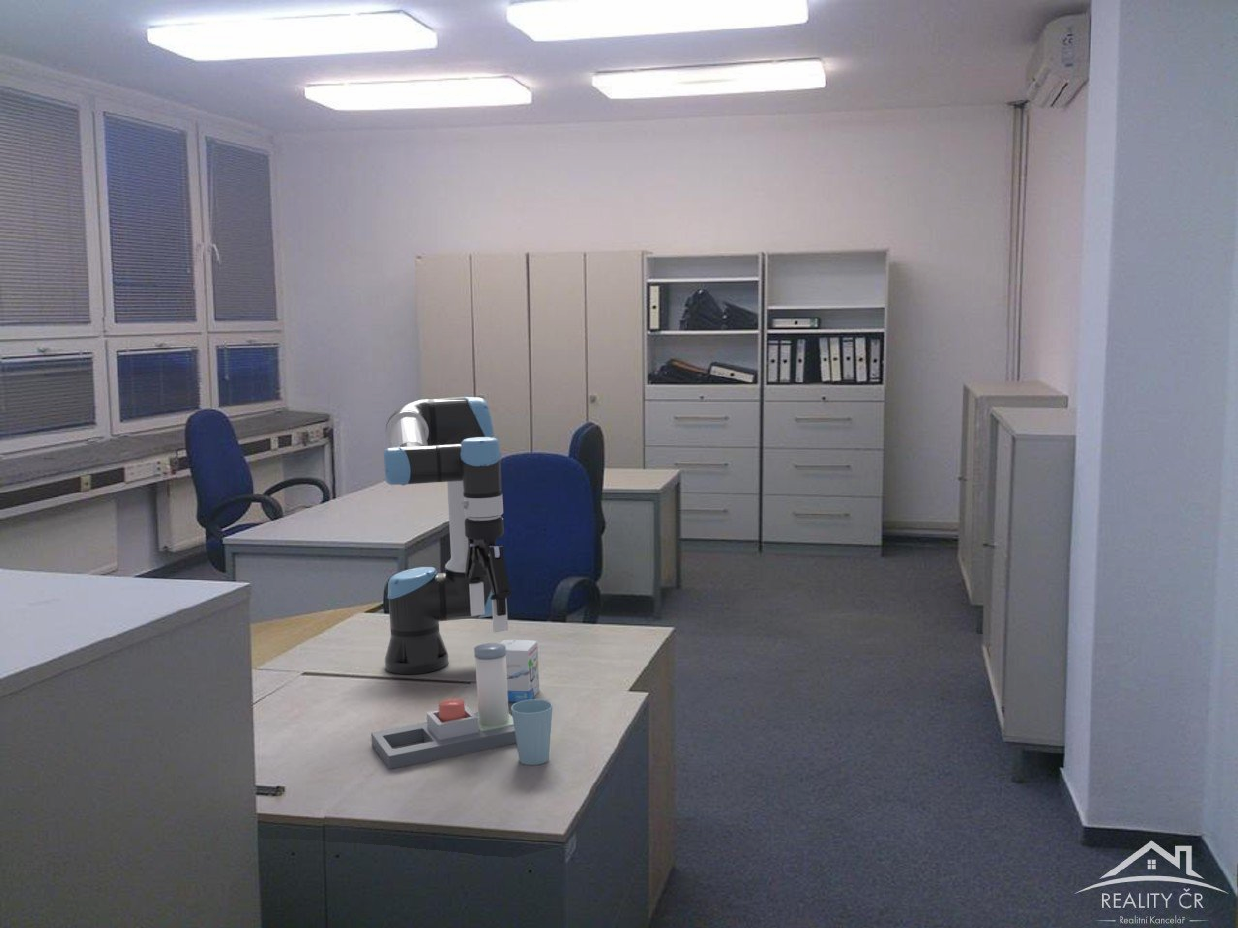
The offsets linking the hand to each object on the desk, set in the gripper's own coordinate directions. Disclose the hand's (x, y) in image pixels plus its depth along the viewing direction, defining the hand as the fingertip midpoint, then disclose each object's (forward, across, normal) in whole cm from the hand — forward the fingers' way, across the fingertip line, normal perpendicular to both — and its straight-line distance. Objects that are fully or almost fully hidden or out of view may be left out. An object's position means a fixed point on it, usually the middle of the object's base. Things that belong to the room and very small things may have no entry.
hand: (488, 622), depth 218 cm
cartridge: (+20, 0, 0) cm, 20 cm away
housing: (+23, 0, -10) cm, 25 cm away
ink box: (+23, -19, +12) cm, 32 cm away
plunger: (+20, +1, -9) cm, 22 cm away
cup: (+23, +17, +2) cm, 28 cm away
